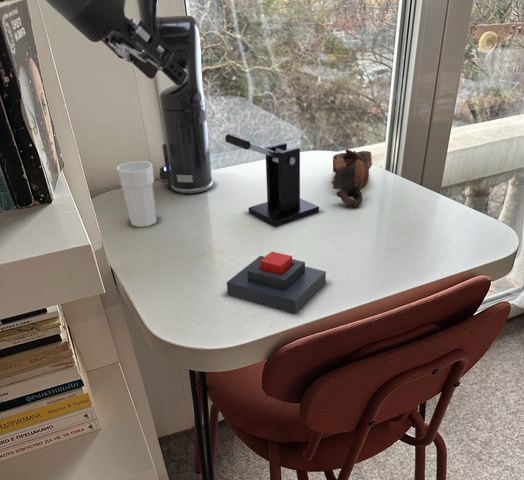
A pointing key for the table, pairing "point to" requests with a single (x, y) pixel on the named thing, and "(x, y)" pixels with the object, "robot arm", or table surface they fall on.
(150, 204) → the cup
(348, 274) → the table surface
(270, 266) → the stop button
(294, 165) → the bracket
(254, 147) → the lever
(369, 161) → the brown curved piece
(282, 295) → the control block
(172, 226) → the table surface
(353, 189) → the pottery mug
